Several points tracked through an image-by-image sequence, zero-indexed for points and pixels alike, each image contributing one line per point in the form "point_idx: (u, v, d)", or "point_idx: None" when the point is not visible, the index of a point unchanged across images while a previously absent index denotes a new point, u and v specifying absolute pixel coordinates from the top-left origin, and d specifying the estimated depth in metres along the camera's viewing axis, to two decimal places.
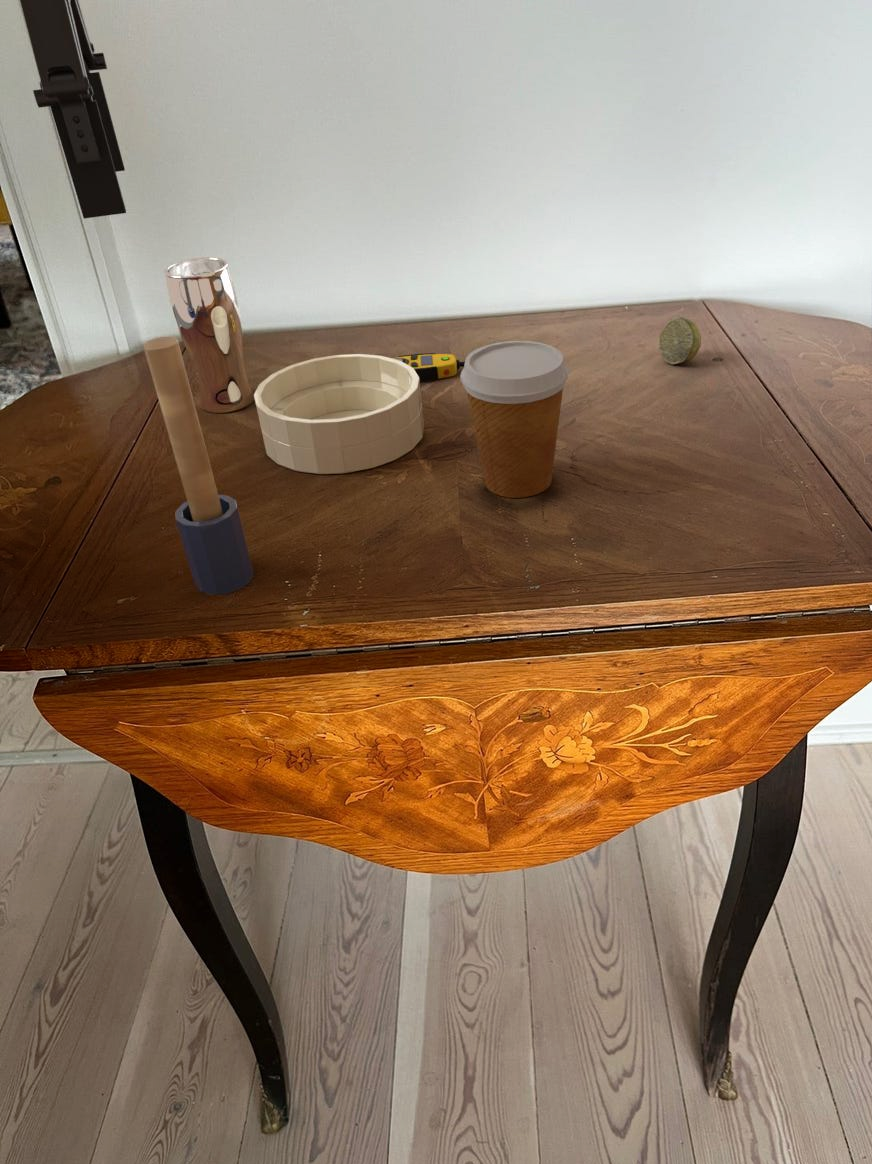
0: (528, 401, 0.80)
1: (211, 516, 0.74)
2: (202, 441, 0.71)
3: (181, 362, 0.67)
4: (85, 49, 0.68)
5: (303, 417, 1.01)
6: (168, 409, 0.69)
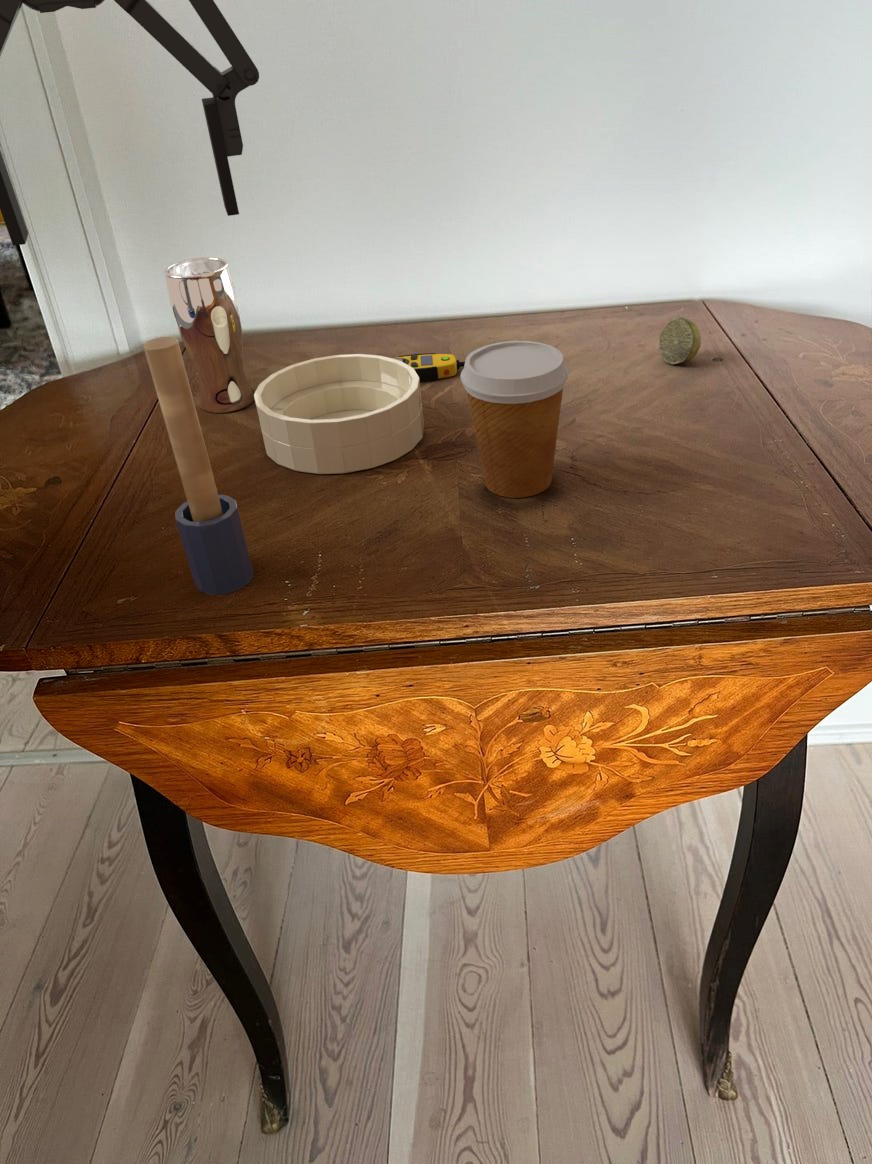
0: (528, 401, 0.80)
1: (211, 516, 0.74)
2: (202, 441, 0.71)
3: (181, 362, 0.67)
4: None
5: (303, 417, 1.01)
6: (168, 409, 0.69)
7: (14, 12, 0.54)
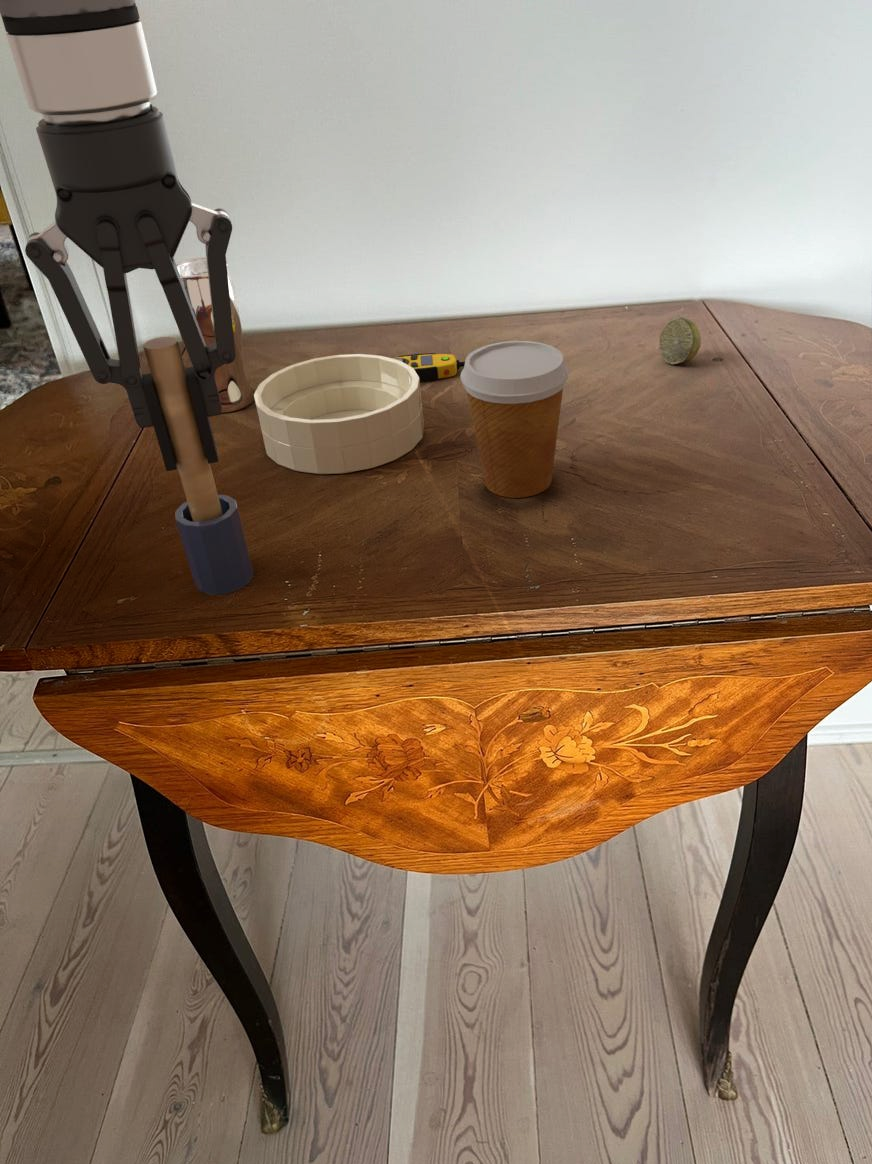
0: (528, 401, 0.80)
1: (210, 516, 0.74)
2: (202, 441, 0.71)
3: (181, 362, 0.67)
4: None
5: (303, 417, 1.01)
6: (167, 409, 0.69)
7: (123, 280, 0.62)
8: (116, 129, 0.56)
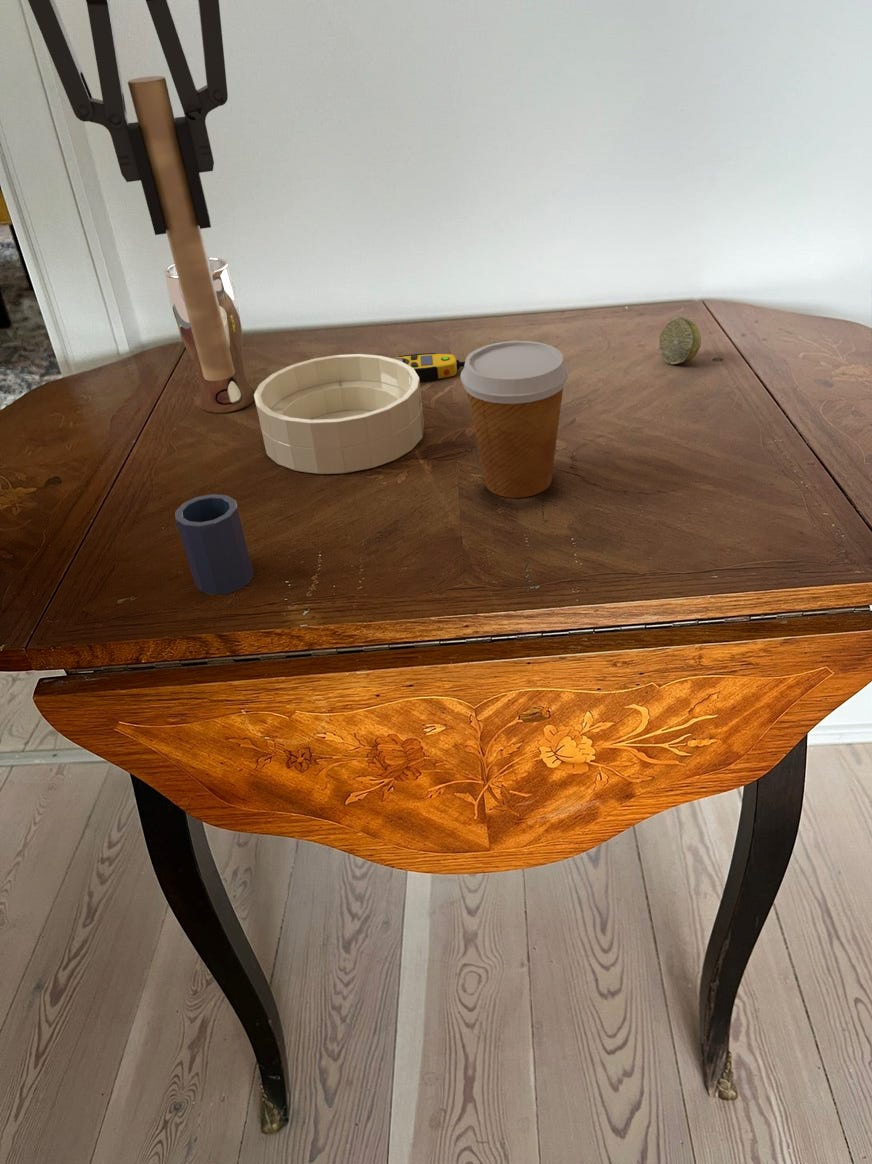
0: (528, 401, 0.80)
1: (203, 295, 0.69)
2: (193, 204, 0.66)
3: (169, 103, 0.62)
4: None
5: (303, 417, 1.01)
6: (155, 158, 0.63)
7: None
8: None
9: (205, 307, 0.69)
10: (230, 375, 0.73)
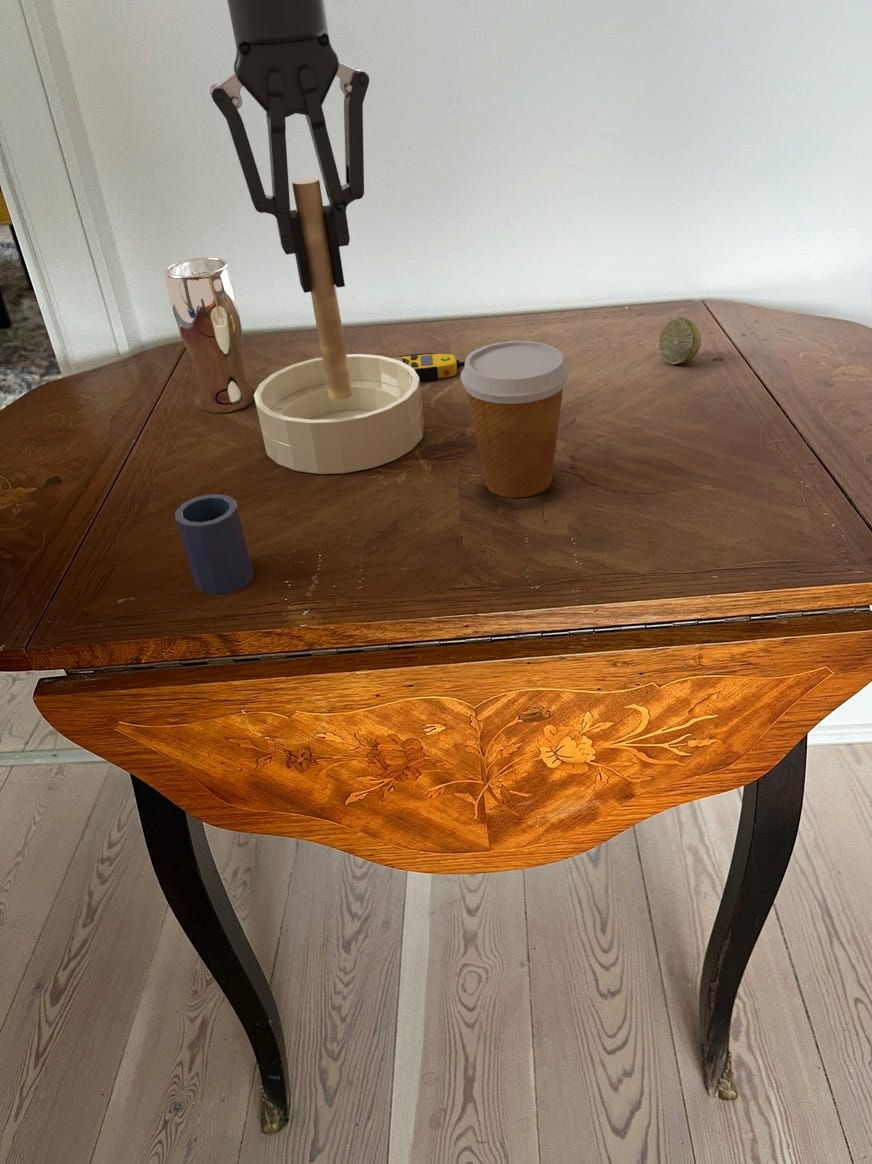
0: (528, 401, 0.80)
1: (335, 336, 0.91)
2: (332, 268, 0.88)
3: (321, 197, 0.84)
4: None
5: (303, 417, 1.01)
6: (308, 237, 0.85)
7: (284, 122, 0.79)
8: None
9: (335, 345, 0.91)
10: (349, 395, 0.95)
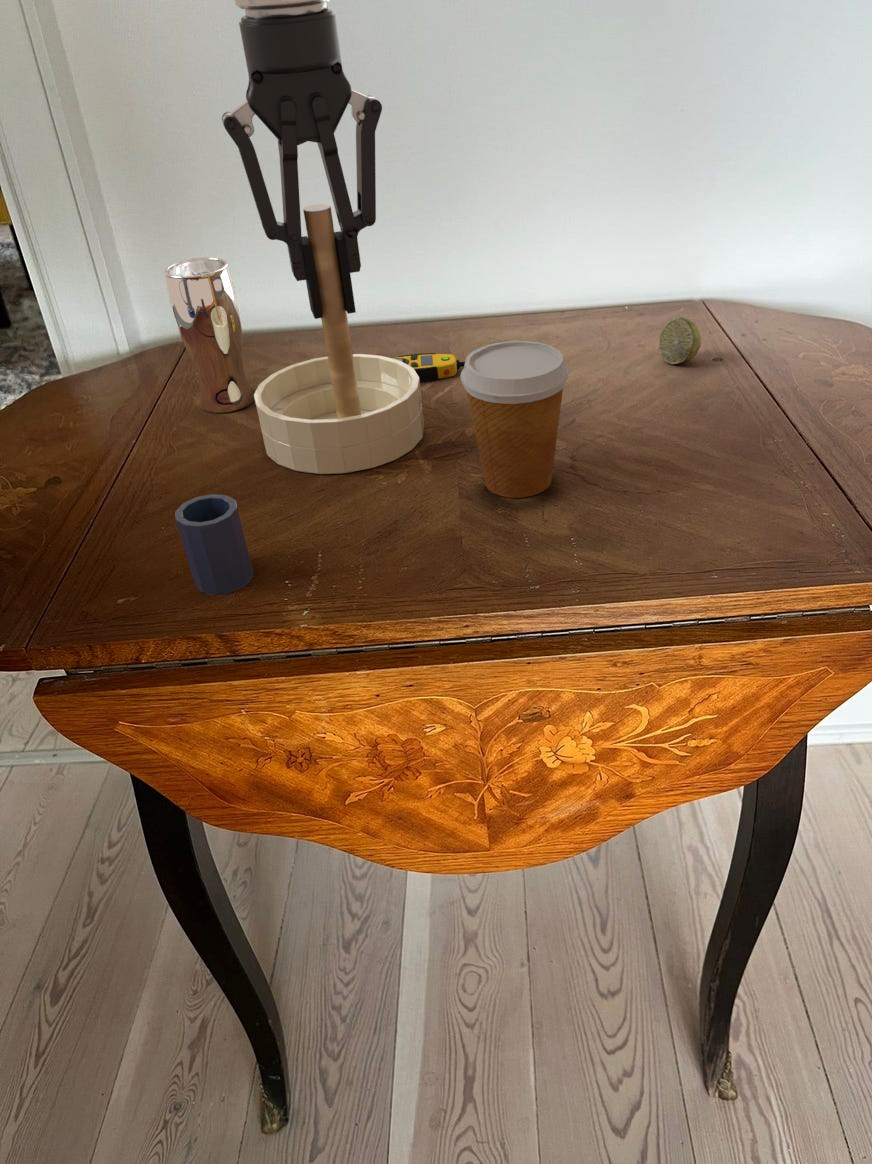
0: (528, 401, 0.80)
1: (345, 361, 0.90)
2: (343, 295, 0.87)
3: (332, 224, 0.83)
4: None
5: (303, 417, 1.01)
6: (319, 264, 0.85)
7: (296, 150, 0.78)
8: (306, 21, 0.72)
9: (346, 370, 0.91)
10: None
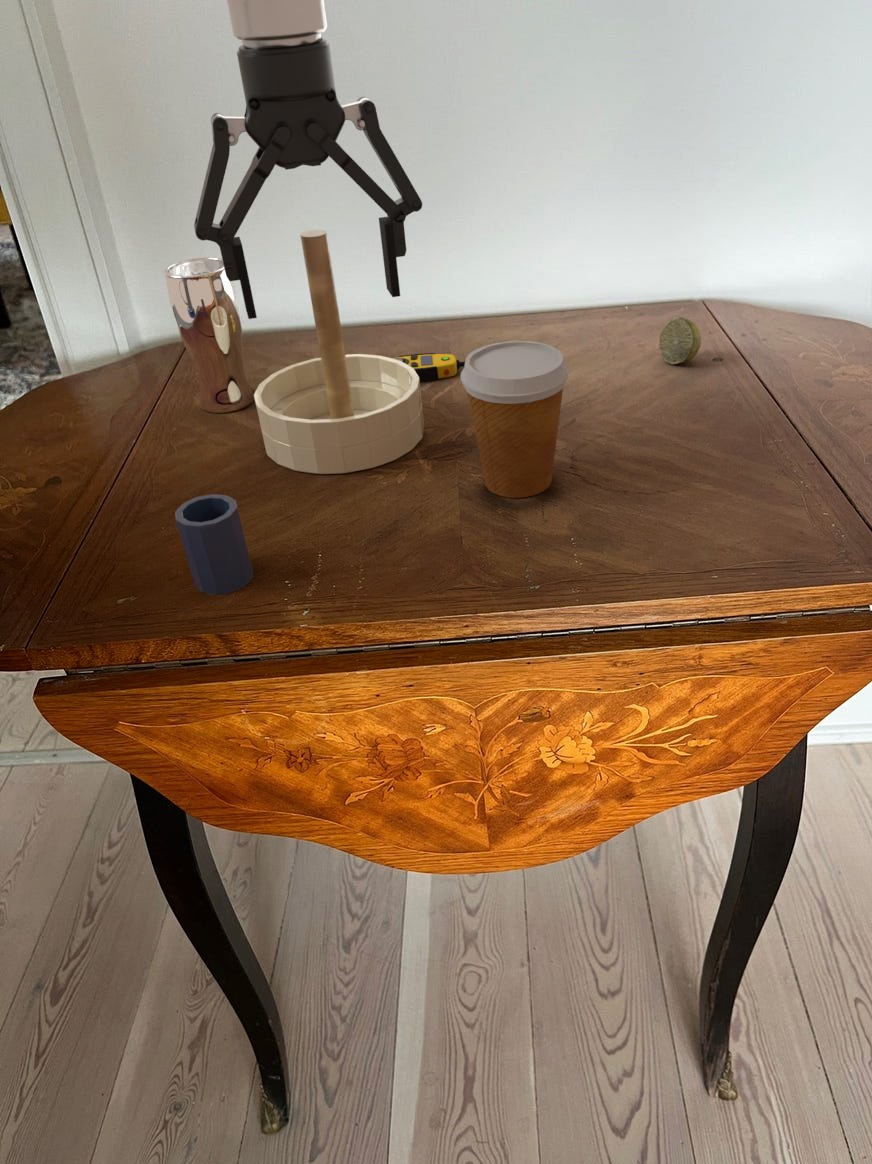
0: (528, 401, 0.80)
1: (341, 380, 0.94)
2: (338, 316, 0.91)
3: (328, 249, 0.87)
4: None
5: (303, 417, 1.01)
6: (316, 287, 0.88)
7: (270, 170, 0.81)
8: (301, 51, 0.75)
9: (341, 388, 0.94)
10: None
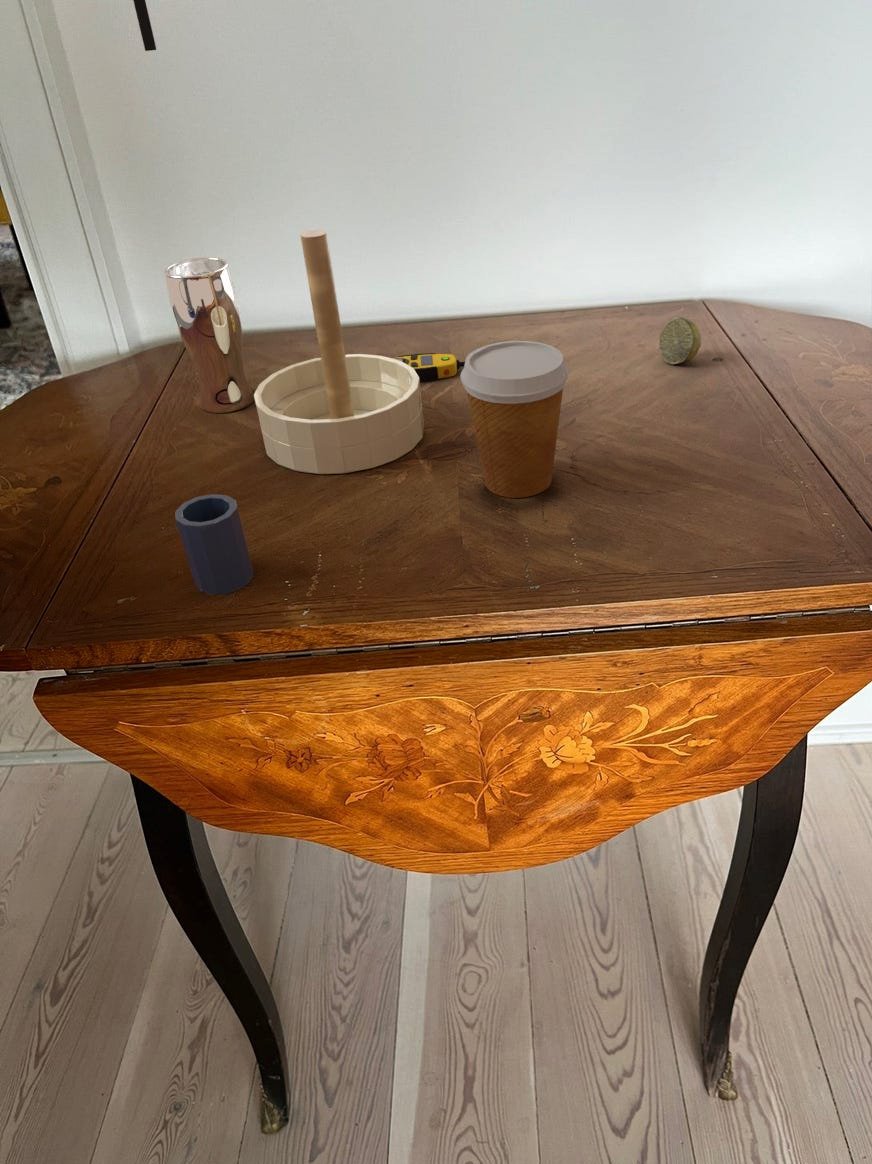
0: (528, 401, 0.80)
1: (341, 380, 0.94)
2: (338, 316, 0.91)
3: (328, 249, 0.87)
4: None
5: (303, 417, 1.01)
6: (316, 287, 0.88)
7: None
8: None
9: (341, 388, 0.94)
10: None
